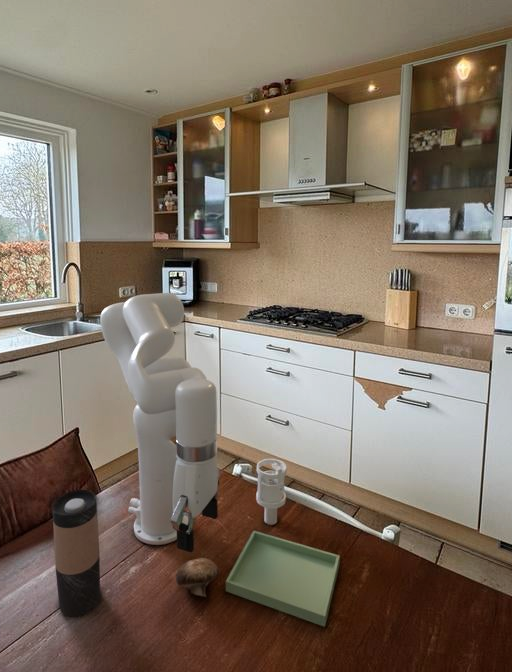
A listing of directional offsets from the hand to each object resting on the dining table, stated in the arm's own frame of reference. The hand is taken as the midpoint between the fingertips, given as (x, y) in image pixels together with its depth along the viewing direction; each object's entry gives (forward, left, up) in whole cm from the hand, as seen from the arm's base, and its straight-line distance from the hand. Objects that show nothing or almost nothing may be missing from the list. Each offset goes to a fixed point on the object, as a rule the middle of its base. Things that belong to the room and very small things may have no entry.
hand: (198, 532), depth 80 cm
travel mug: (-19, -11, -12) cm, 25 cm away
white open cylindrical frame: (+7, +24, -12) cm, 28 cm away
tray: (+15, +9, -12) cm, 21 cm away
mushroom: (0, 0, -12) cm, 12 cm away
